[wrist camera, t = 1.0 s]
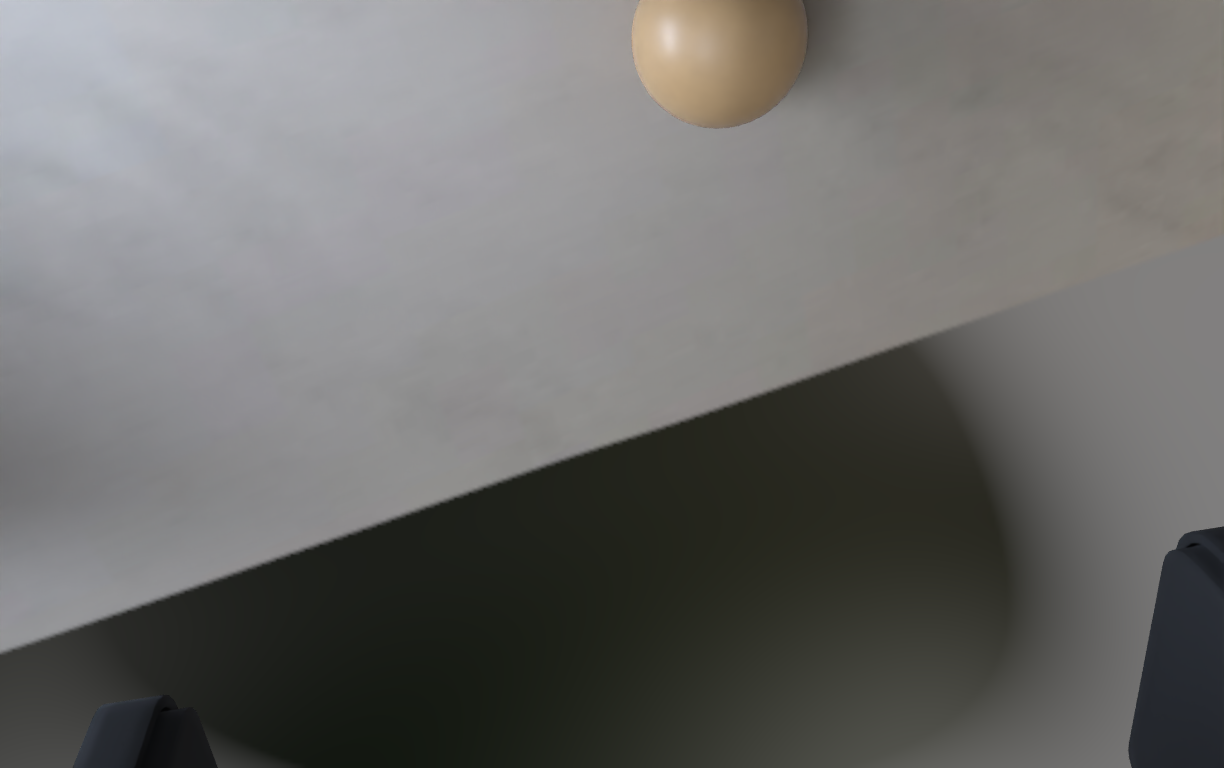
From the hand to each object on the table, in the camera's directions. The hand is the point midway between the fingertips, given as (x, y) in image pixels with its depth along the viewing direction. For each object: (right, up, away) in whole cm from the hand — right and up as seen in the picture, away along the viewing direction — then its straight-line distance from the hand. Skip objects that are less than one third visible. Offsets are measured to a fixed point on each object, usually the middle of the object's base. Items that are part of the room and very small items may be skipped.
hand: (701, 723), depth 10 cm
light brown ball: (+2, +13, +19) cm, 23 cm away
